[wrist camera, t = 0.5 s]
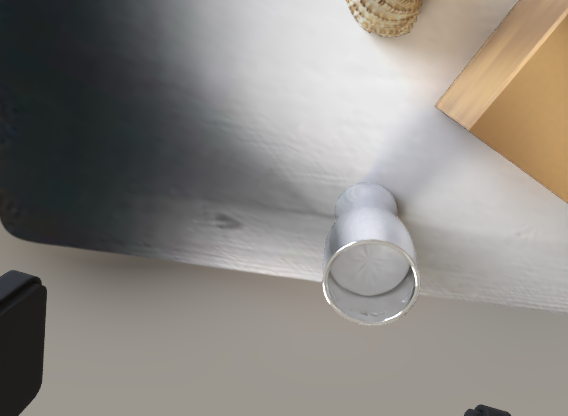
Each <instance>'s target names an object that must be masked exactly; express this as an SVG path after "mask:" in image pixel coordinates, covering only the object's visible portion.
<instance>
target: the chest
mask: <svg viewBox="0 0 568 416" xmlns="http://www.w3.org/2000/svg"><path fill="white" fill-rule="evenodd" d="M567 8H568V0H519V1H518V2H517V4H516V5H515V6H514V7H513V9H512V10H511V11H510V12H509V14H508V15H507V16H506V17H505V19H504V20H503V21H502V22H501V24H500V25H499V26H498V27H497V29H496V30H495V31H494V32H493V34H492V35H491V36H490V37H489V39H488V40H487V41H486V42H485V44H484V45H483V46H482V47H481V49H480V50H479V51H478V52H477V54H476V55H475V56H474V57H473V59H472V60H471V61H470V62H469V64H468V65H467V66H466V67H465V69H464V70H463V71H462V72H461V74H460V75H459V76H458V77H457V79H456V80H455V81H454V82H453V84H452V85H451V86H450V87H449V89H448V90H447V91H446V92H445V94H444V95H443V96H442V97H441V99H440V100H439V101H438V102H437V104H436V105H435V107H437V108H438V109H439V110H441V111H442V112H443V113H445V114H446V115H447V116H449V117H450V118H452V119H453V120H454V121H456V122H457V123H458V124H460V125H461V126H462V127H464V128H465V129H466V128H467V126H468V125H469V124H470V123H471V122H472V120H473V119H474V118H475V117H476V116H477V115H478V113H479V112H480V111H481V110H482V109H483V107H484V106H485V105H486V104H487V103H488V101H489V100H490V99H491V98H492V97H493V96H494V94H495V93H496V92H497V91H498V90H499V88H500V87H501V86H502V85H503V84H504V83H505V81H506V80H507V79H508V78H509V77H510V75H511V74H512V73H513V72H514V71H515V70H516V68H517V67H518V66H519V65H520V64H521V62H522V61H523V60H524V59H525V58H526V56H527V55H528V54H529V53H530V52H531V51H532V49H533V48H534V47H535V46H536V45H537V43H538V42H539V41H540V40H541V39H542V38H543V36H544V35H545V34H546V33H547V32H548V30H549V29H550V28H551V27H552V26H553V24H554V23H555V22H556V21H557V20H558V19H559V17H560V16H561V15H562V14H563V13H564V11H565V10H566V9H567ZM468 131H469V130H468ZM469 132H470V131H469ZM472 134H473V133H472ZM473 135H474V134H473ZM476 137H477V136H476ZM480 140H481V139H480ZM483 142H484V141H483ZM484 143H485V142H484ZM487 145H488V144H487ZM488 146H489V145H488ZM491 148H492V147H491ZM495 151H496V150H495ZM498 153H499V152H498ZM499 154H500V153H499ZM502 156H503V155H502ZM503 157H504V156H503ZM506 159H507V158H506ZM509 161H510V160H509ZM510 162H511V161H510ZM513 164H514V163H513ZM514 165H515V164H514ZM517 167H518V166H517ZM521 170H522V169H521ZM524 172H525V171H524ZM525 173H526V172H525ZM528 175H529V174H528ZM529 176H530V175H529ZM532 178H533V177H532ZM536 181H537V180H536ZM539 183H540V182H539ZM540 184H541V183H540ZM543 186H544V185H543ZM544 187H545V186H544ZM547 189H548V188H547ZM551 192H552V191H551ZM554 194H555V193H554ZM555 195H556V194H555ZM558 197H559V196H558ZM562 200H563V199H562ZM565 202H566V201H565ZM566 203H567V202H566Z"/></svg>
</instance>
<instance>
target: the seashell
mask: <svg viewBox="0 0 568 416" xmlns="http://www.w3.org/2000/svg"><path fill="white" fill-rule="evenodd" d="M346 1H347V4H348V6H349V9H350V11H351V13H352V15H353V16H354V18H355V19H356V21H357V22H358V23H359V24H360V25H361V26H362V27H363V28H364V29H365V30H366V31H368V32H369V33H371V31H372V32H374V33H376V34H377V35H379V36H380V37H381V36H384V37H389V38H392V37H397V36H400V35H403V34H406V33H409V31H410V29H411V28H412V27H413V23H414V22H416V21H417V19H416V17H417V15H418V14H420V11H419V8H420V6H421V5H422V2H421V0H346Z"/></svg>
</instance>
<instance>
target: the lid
mask: <svg viewBox="0 0 568 416" xmlns="http://www.w3.org/2000/svg"><path fill="white" fill-rule="evenodd" d="M466 129H467V130H469V131H470V132H471V133H473V134H474V135H475V136H477V137H478V138H479V139H481V140H482V141H484V142H485V143H486V144H488V145H489V146H490V147H492V148H493V149H494V150H496V151H497V152H499V153H500V154H501V155H503V156H504V157H505V158H507V159H508V160H510V161H511V162H512V163H514V164H515V165H516V166H518V167H519V168H520V169H522V170H523V171H525V172H526V173H527V174H529V175H530V176H531V177H533V178H534V179H535V180H537V181H538V182H540V183H541V184H542V185H544V186H545V187H546V188H548V189H549V190H550V191H552V192H553V193H555V194H556V195H557V196H559V197H560V198H561V199H563V200H564V201H566V202H567V203H568V8H567V9H566V10H565V11H564V13H563V14H562V15H561V16H560V17H559V19H558V20H557V21H556V22H555V23H554V24H553V26H552V27H551V28H550V29H549V30H548V32H547V33H546V34H545V35H544V36H543V38H542V39H541V40H540V41H539V42H538V43H537V45H536V46H535V47H534V48H533V49H532V51H531V52H530V53H529V54H528V55H527V56H526V58H525V59H524V60H523V61H522V62H521V64H520V65H519V66H518V67H517V68H516V70H515V71H514V72H513V73H512V74H511V75H510V77H509V78H508V79H507V80H506V81H505V83H504V84H503V85H502V86H501V87H500V88H499V90H498V91H497V92H496V93H495V94H494V96H493V97H492V98H491V99H490V100H489V101H488V103H487V104H486V105H485V106H484V107H483V109H482V110H481V111H480V112H479V113H478V115H477V116H476V117H475V118H474V119H473V120H472V122H471V123H470V124H469V125H468V126H467V128H466Z"/></svg>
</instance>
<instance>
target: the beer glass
mask: <svg viewBox="0 0 568 416" xmlns="http://www.w3.org/2000/svg"><path fill="white" fill-rule="evenodd" d="M334 215H335V220H336V221H335V223H334V224H333V226H332V228H331V230H330V232H329V234H328V236H327V239H326V242H325V247H324V251H323V264H322V265H323V280H322V284H323V291H324V294H325V297H326V299H327V301H328V302H329V304H330V306H331V307H332V308H333V309H334V310H335V311H336V312H337V313H338V314H339V315H340V316H342V317H343V318H345V319H347V320H349V321H351V322H353V323H356V324H360V325H366V326H378V325H385V324H388V323H391V322H394V321H396V320H398V319H400V318H401V317H403V316H404V315H405V314H406V313H407V312H408V311H409V310H410V309H411V308H412V307H413V306H414V304H415V302H416V300H417V298H418V296H419V292H420V286H421V280H420V274H419V267H418V259H417V254H416V250H415V246H414V243H413V241H412V238H411V236H410V234H409V232H408V230H407V229H406V227H405V226H404V224H403V223H402V222H401V220H400V219H399V218H398V217H397V216H398V207H397V203H396V201H395V198H394V197H393V195H392V194H391V193H390V192H389V191H388V190H387V189H386V188H384V187H383V186H381V185H378V184H375V183H370V182H363V183H357V184H354V185H352V186H350V187H348V188H347V189H346V190H345V191H343V192H342V193H341V195H340V196H339V198H338V199H337V202H336V204H335V210H334Z"/></svg>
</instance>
